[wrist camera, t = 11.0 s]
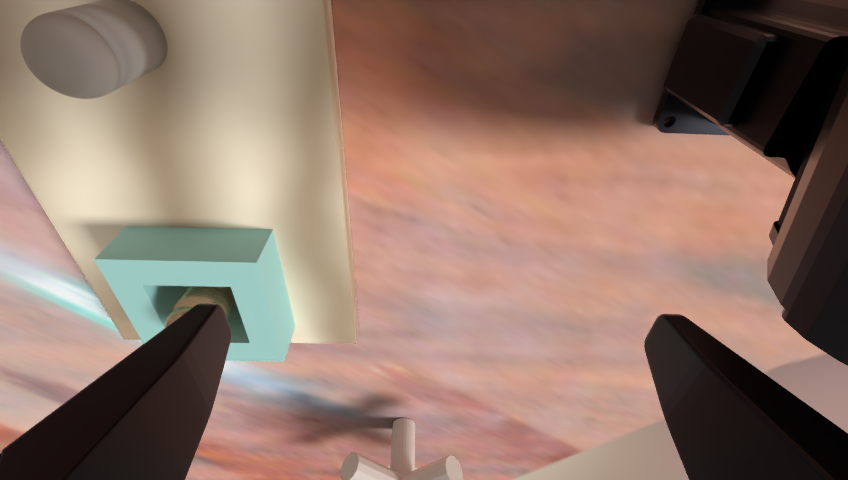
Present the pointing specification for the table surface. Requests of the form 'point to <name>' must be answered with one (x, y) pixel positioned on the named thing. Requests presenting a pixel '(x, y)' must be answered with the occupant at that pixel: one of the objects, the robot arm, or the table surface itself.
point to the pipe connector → (400, 461)
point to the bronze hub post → (201, 300)
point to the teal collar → (203, 282)
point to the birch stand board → (186, 133)
